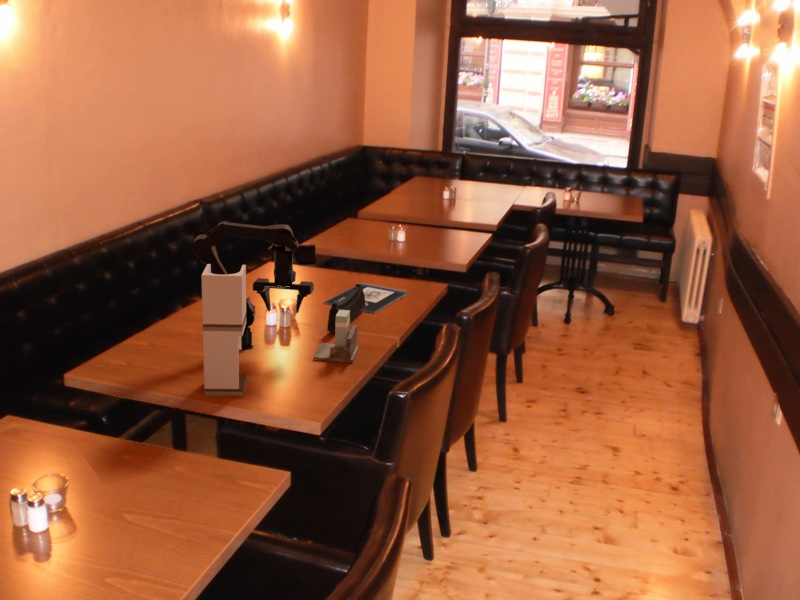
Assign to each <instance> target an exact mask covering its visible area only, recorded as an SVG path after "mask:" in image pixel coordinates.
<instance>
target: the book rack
mask: <svg viewBox="0 0 800 600" xmlns="http://www.w3.org/2000/svg"><path fill="white" fill-rule="evenodd" d="M357 340H358V325H355V324H353V326H352V328H351V330H349V336H348V338H347V348H340V347H335V343H327V342H325V343H324V342H321V343H320V345H319V346H318V348H317V349H316V352H315V354H314V356H313V359H314V360H313V361H320V360H324V361H323V362H333V361H338V362H337V363H345V364H346V362H347V364H354V361H355V359H356V357H357V354H358V351H359V349H360V345H358V344H357V343H358V342H357ZM355 356H356V357H355ZM315 359H316V360H315Z"/></svg>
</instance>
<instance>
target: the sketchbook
mask: <svg viewBox="0 0 800 600" xmlns="http://www.w3.org/2000/svg"><path fill="white" fill-rule="evenodd" d="M360 284H361V288H362V289H363V292H364V295H365V305H364V306H363V308H362V309H361V311H360V312H363V311H364V313H368V312H369V313H370V314H373V313H374V314H376V313H378V312H379V311H382V310H383V309H384V307H385V308H387V307H388V306H390V305H392V304H393V302H394V303H396V302H397V301H399V300H401V299H403V298H404V297H406V296H408V295H409V292H408V291H407V290H403V289H399V288H398V289H397V288H392V287H387V286H383V285H382V286H381V285H376V284H370V283H365V282H361V283H360ZM354 288H355V286H353V287H351V288H349V289H346V291H343V292H341V293H339V294H337V295H336V296H333V297H331V298H330V299H328V300H326V301H325V300H324V302H323V304H324V305H329V306H332V304H334V303H335V304H336V303H339V302H340V301H342V300H343V299H345V298H346V297H347V296H348V295H349V294H350V293H351V292H352V290H353V289H354ZM407 294H408V295H407ZM402 297H403V298H402ZM400 298H401V299H400ZM395 301H396V302H395ZM386 306H387V307H386ZM377 311H378V312H377ZM375 312H376V313H375Z"/></svg>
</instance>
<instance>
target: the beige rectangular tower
mask: <svg viewBox="0 0 800 600" xmlns="http://www.w3.org/2000/svg"><path fill="white" fill-rule="evenodd" d="M246 299H247V265H246V264H242V265H241V268H240V271H238V272H236V273H228V275H219V274H212V273H211V264H207V266H206V265H205V268H204V269H203V272H202V274H201V300H202V301H201V308H202V337H203V338H202V344H203V345H202V346H203V347H202V348H203V381H204V382H203V384H204V385H203V387H204V391H203V392H204V396H219V397H220V396H222V397H223V396H225V397H227V396H231V397H233V396H234V395H235V396H236V397H243V396H244V394H243V393H245V390H244V389H246V384H247V381H248V376H247V375H248V374H247V373H240V363H239V362H240V360H239V359H240V355H239V353H240V352H241V351H242V350H241V336H243V332H244V329H245V326H246ZM235 396H234V397H235Z"/></svg>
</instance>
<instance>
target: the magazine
mask: <svg viewBox="0 0 800 600" xmlns="http://www.w3.org/2000/svg"><path fill="white" fill-rule="evenodd" d="M361 284H362V283H356V284H355V286H354V287H355V288H354V289H353V290H352V292H351V293H350V294H349V295H348V296H347V297H346V298H345V299H343V300H342V301H340V302H339V303H336V304H335V303H334V304H332V305H331V308H329V312H328V320H327V329H326V331H327V332H330V333H335V322H336V314H337V313H338V311H339V310H350V323H352V322H353V321H352V320H355V318H356V317H357V316H358V314H359V313H360V312H362V311H361V309H362V308H363V306H364V305H365V295H364V292H363V289H362V288H361ZM351 321H352V322H351Z"/></svg>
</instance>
